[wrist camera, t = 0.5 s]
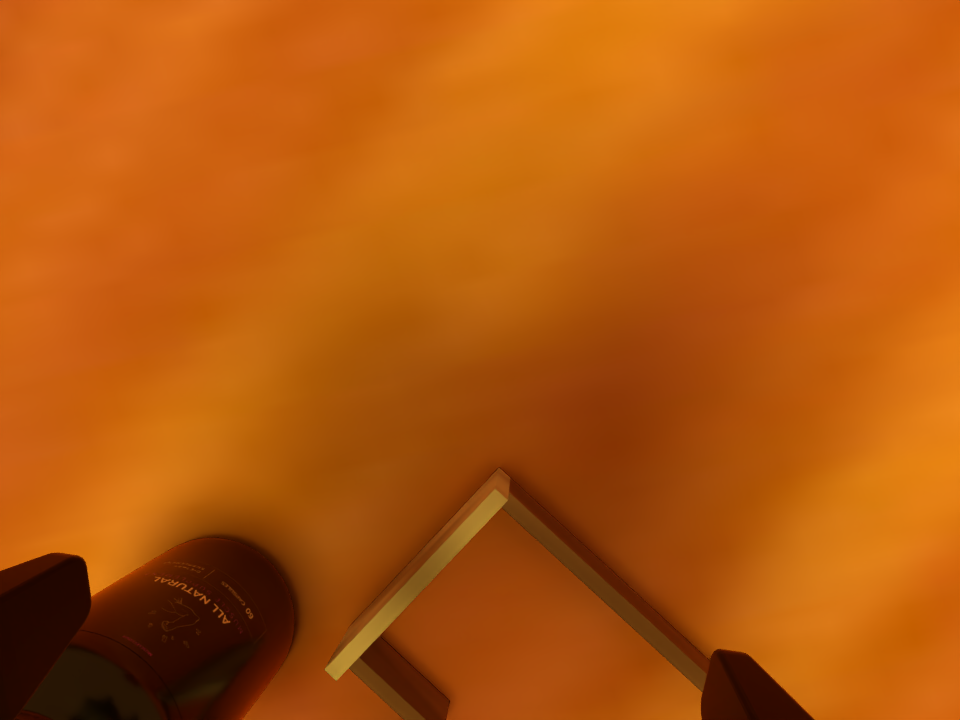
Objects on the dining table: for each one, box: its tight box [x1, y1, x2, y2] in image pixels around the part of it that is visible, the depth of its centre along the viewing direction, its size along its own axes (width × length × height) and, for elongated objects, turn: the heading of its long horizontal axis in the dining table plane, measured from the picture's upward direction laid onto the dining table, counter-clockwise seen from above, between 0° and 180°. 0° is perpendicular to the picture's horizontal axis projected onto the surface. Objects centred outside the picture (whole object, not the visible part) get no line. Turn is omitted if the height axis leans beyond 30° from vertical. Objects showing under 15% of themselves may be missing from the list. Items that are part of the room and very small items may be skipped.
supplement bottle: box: [15, 538, 294, 720], centre depth 19 cm, size 7×7×12 cm
